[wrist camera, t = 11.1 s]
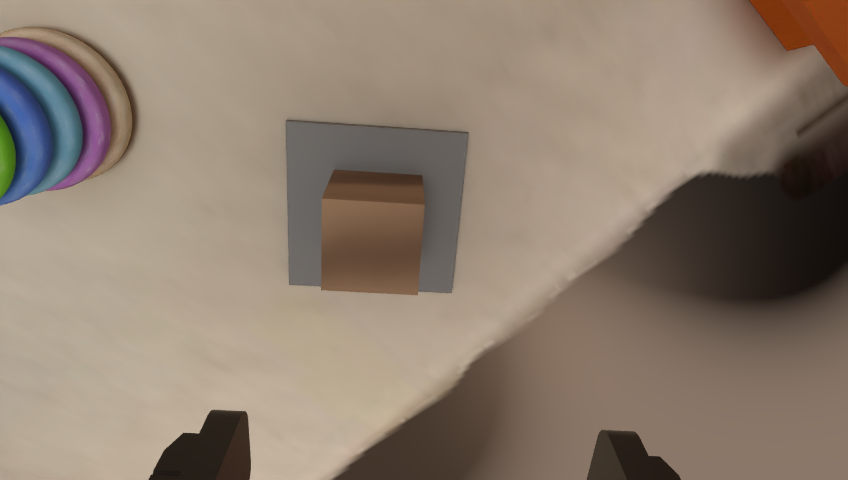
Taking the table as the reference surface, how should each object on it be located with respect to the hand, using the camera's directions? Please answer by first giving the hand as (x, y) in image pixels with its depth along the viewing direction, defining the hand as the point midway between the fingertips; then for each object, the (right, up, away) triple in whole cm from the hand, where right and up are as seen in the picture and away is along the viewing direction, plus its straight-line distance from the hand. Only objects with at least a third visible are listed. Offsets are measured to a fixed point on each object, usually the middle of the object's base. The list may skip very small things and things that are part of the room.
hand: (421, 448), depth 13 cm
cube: (-3, +6, +20) cm, 22 cm away
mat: (-3, +7, +21) cm, 22 cm away
